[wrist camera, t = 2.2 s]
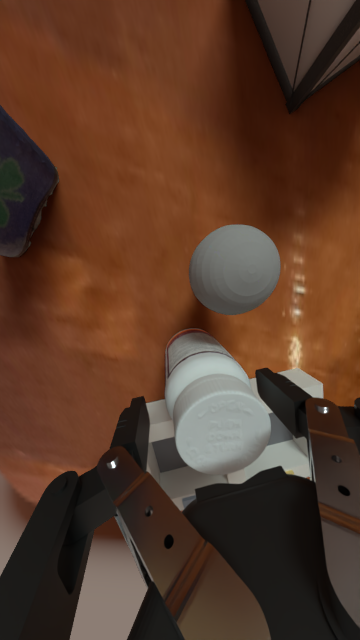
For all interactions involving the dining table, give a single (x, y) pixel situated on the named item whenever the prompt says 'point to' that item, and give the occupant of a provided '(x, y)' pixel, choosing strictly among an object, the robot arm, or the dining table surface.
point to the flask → (21, 186)
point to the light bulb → (234, 269)
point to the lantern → (307, 42)
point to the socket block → (185, 479)
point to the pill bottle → (212, 405)
